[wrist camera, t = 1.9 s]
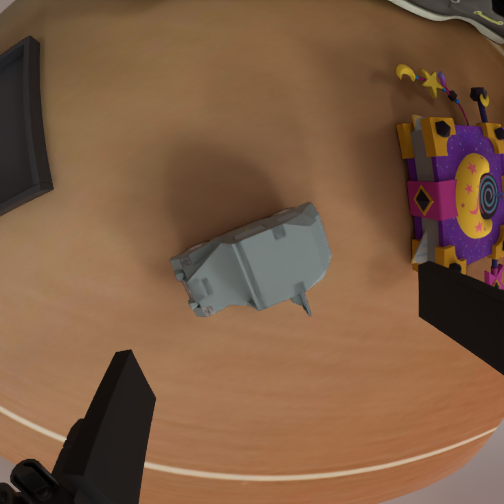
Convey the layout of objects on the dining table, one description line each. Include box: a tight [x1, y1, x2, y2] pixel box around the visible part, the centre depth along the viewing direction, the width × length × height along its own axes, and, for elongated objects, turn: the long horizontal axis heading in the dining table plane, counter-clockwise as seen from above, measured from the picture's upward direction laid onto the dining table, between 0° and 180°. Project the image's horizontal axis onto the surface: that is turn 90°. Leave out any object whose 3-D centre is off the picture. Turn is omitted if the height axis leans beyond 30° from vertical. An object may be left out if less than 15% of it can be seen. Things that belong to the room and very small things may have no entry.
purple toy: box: [396, 64, 504, 289], centre depth 17 cm, size 15×25×12 cm, turn 11°
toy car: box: [170, 202, 331, 317], centre depth 19 cm, size 6×10×5 cm, turn 111°
